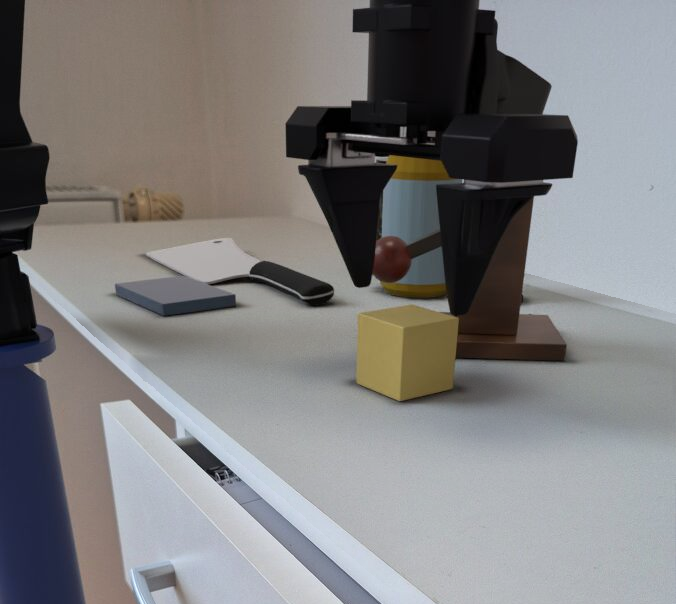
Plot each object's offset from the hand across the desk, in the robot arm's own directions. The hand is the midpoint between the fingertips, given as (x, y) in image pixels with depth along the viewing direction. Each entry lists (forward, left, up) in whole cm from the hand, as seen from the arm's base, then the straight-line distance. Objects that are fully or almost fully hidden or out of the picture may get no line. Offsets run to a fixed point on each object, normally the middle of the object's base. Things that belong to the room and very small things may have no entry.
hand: (407, 299), depth 51 cm
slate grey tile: (-1, +31, -5) cm, 31 cm away
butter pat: (0, 0, -5) cm, 5 cm away
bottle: (+20, +22, -6) cm, 30 cm away
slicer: (+12, +5, -5) cm, 14 cm away
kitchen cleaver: (+9, +38, -6) cm, 39 cm away
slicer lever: (+10, +7, 0) cm, 12 cm away
